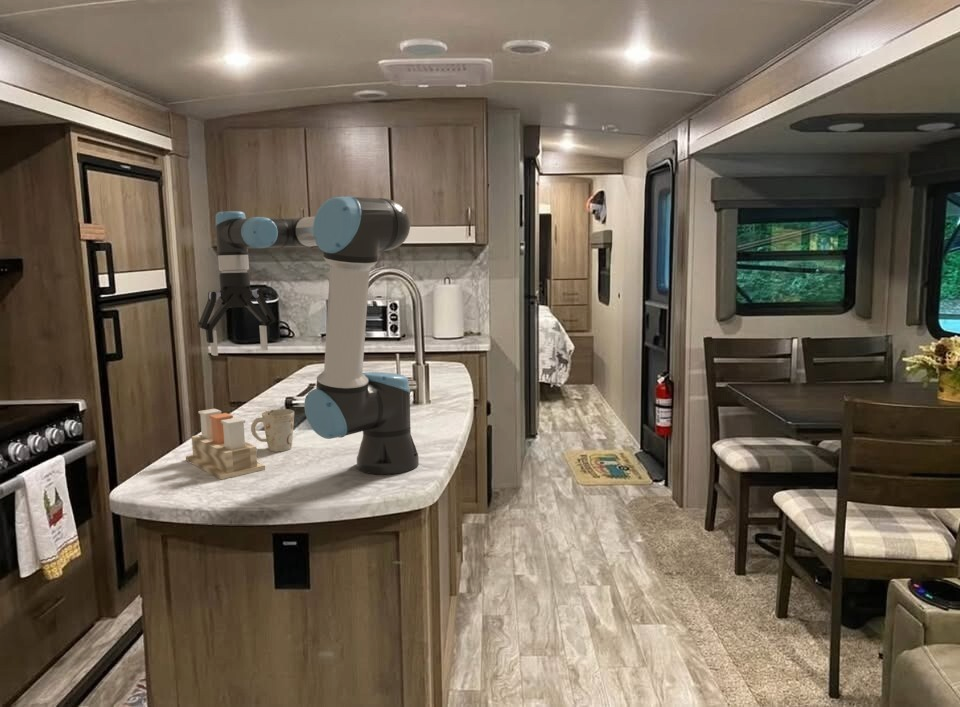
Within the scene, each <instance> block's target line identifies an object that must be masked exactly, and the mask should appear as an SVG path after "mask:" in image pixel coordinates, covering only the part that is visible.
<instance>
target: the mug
mask: <svg viewBox="0 0 960 707" xmlns="http://www.w3.org/2000/svg"><path fill="white" fill-rule="evenodd" d="M294 420H295V411H294V410H292V409H289V408H276V409H271V410H270V409H269V410H265V411H264V412H262V413H261V417H256V418H255V419H253V421H252V423H251V426H250V432H251V434H252V436H253V437H254V439H256V440H258V441H260V442H262V443H264V442H265V443H266V444H267V447H268V450H269V451H270V452H273V451H274V452H275V453H276V452H277V453H279V452H278V451H281V452H286V451H285V450H287V451H289V450H291V449H292V447H293V434H294V424H295V423H294V422H295V421H294ZM259 423H263V428H264V433H265V438H262V437H261V436H259V435H258V433H257V430H256V426H257V425H258V424H259ZM290 448H291V449H290Z"/></svg>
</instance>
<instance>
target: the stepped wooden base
mask: <svg viewBox="0 0 960 707" xmlns="http://www.w3.org/2000/svg"><path fill="white" fill-rule="evenodd" d="M191 446H192V448H191V449H192V454H190V455H186V456H185V461H187V462H188V461H189V463H190V462H191V463H190V464H192V463H193V464H192V465H194V466H196V467H198V468H199V467H200V468H199V469H202V470H203V471H206V473H209V474H211V475H212V476H214V477H215V478H217V479H220V480H225V479H229V478H235V477H239V476H243V475H247V474H251V473H252V474H253V473H256V472H261V471H265V470H266V466H265V465H264V464H263V463H260V462H258V457H257V456H258V455H257V446H255V445H253V444H251V443H248V442H247V441H245V448H240V449H235V450H228V449H226V448H225V446H224V444H220V445H217V444H215V443H213V438H212V439H204V438H202V434H197V435H192V436H191Z"/></svg>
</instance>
